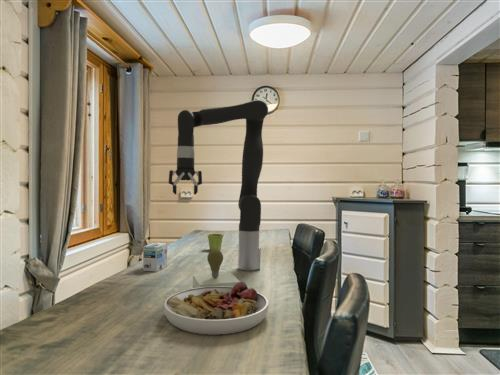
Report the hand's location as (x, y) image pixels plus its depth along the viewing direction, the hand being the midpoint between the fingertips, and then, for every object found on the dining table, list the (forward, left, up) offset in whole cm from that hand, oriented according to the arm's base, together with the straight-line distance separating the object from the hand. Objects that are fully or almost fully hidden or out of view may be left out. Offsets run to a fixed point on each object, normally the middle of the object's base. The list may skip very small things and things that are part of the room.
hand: (185, 194), depth 162 cm
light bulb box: (+12, -5, -33) cm, 36 cm away
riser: (-6, +35, -33) cm, 49 cm away
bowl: (-1, +58, -34) cm, 67 cm away
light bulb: (-6, +35, -28) cm, 45 cm away
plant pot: (-23, -40, -33) cm, 57 cm away
